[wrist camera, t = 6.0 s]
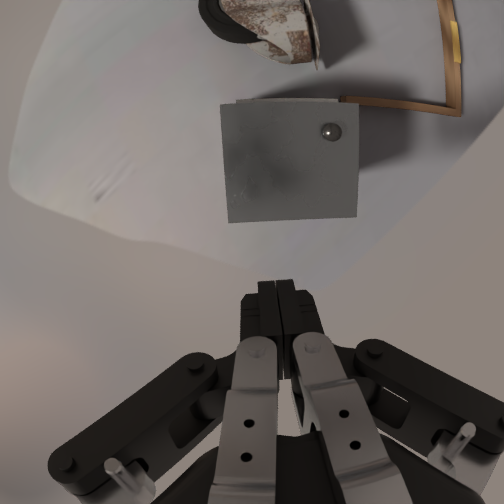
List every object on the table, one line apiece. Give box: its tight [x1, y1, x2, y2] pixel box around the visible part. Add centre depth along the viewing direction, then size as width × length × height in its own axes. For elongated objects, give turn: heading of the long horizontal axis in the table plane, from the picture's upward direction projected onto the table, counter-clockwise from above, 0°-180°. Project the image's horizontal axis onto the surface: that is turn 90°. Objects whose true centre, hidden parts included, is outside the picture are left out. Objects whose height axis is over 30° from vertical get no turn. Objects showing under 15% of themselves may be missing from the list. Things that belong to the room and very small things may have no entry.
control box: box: [220, 98, 359, 223], centre depth 25 cm, size 9×9×12 cm
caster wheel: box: [198, 0, 320, 70], centre depth 22 cm, size 7×11×10 cm
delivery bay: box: [340, 0, 461, 117], centre depth 24 cm, size 18×14×2 cm
